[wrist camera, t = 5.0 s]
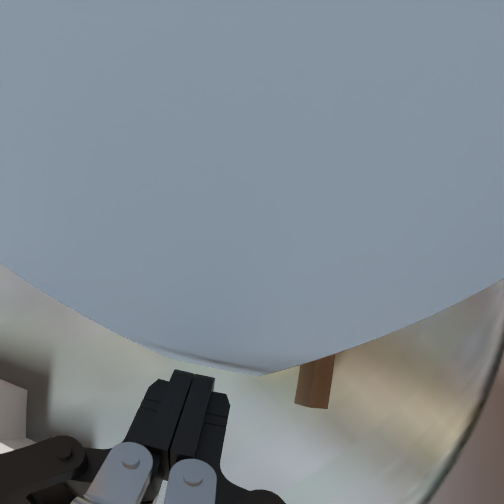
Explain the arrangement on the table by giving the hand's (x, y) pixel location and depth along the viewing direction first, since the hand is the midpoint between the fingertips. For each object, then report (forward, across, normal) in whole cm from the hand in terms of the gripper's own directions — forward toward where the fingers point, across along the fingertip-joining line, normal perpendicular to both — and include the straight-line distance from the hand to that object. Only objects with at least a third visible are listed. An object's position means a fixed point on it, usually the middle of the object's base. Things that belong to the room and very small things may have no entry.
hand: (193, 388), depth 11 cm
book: (+12, 0, 0) cm, 12 cm away
